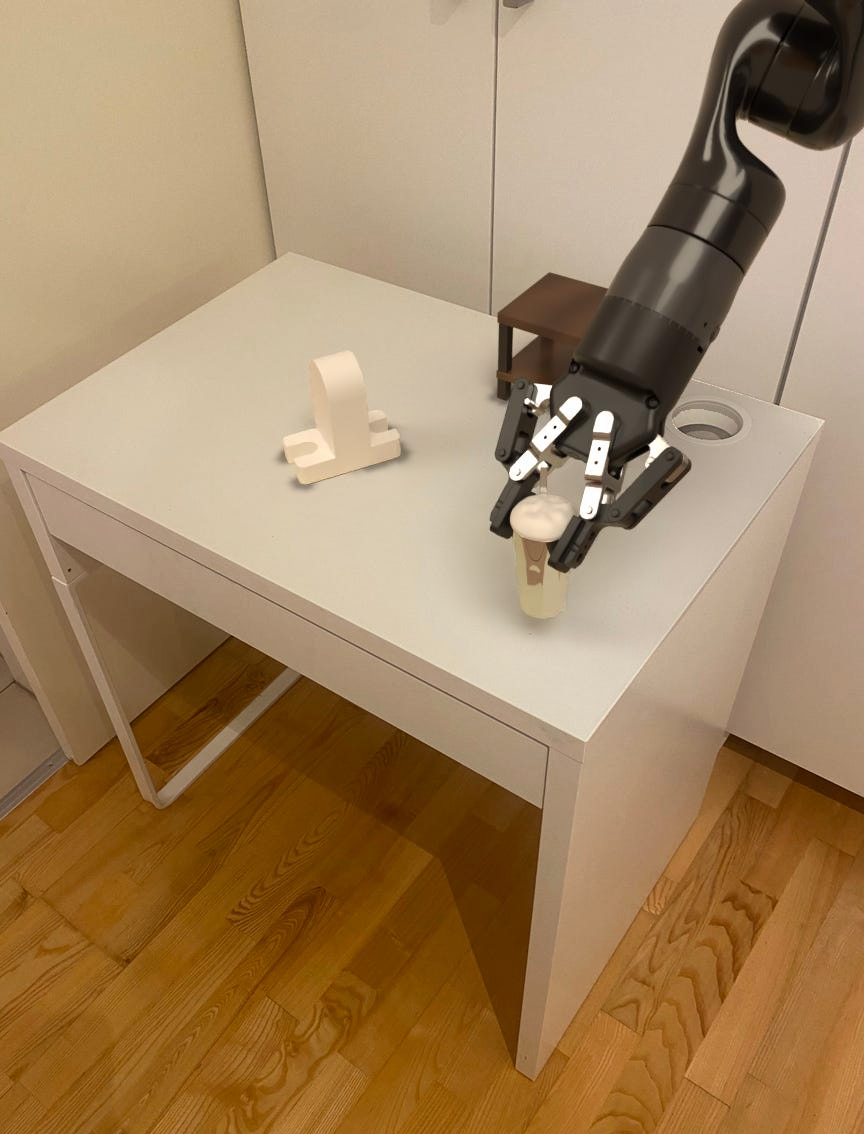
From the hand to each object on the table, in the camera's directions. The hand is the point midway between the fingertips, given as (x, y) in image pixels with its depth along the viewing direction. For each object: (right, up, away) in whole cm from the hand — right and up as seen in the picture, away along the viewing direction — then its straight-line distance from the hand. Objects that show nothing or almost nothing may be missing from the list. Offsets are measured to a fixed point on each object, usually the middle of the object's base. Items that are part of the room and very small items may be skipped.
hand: (528, 551), depth 67 cm
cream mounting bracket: (-14, +11, +24) cm, 30 cm away
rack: (+9, +18, +29) cm, 35 cm away
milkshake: (+2, -3, +5) cm, 7 cm away
